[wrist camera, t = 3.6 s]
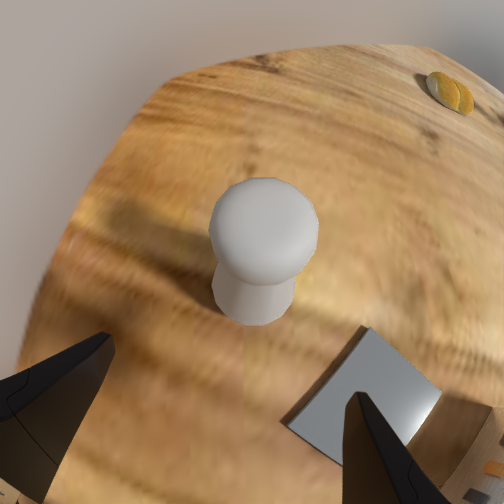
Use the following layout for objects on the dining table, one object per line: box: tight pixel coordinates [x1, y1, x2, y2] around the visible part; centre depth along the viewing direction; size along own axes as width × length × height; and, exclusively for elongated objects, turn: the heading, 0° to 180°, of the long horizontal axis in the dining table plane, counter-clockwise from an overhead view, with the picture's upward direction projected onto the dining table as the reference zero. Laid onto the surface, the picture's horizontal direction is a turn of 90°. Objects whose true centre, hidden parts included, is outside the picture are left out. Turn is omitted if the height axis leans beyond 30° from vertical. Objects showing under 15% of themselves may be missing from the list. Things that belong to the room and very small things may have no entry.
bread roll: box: [426, 72, 474, 115], centre depth 32 cm, size 8×9×4 cm
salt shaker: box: [208, 178, 319, 326], centre depth 16 cm, size 6×6×13 cm
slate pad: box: [287, 327, 442, 466], centre depth 19 cm, size 10×10×1 cm
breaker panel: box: [439, 407, 504, 504], centre depth 12 cm, size 16×3×9 cm, turn 137°
